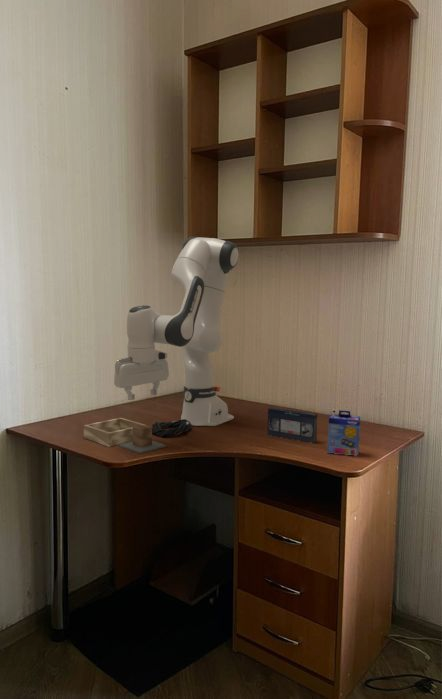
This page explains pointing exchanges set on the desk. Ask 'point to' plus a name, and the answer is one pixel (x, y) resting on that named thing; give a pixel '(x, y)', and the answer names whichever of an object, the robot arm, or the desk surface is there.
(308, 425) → the vhs cassette tape
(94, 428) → the crate
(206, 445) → the desk surface
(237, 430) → the desk surface
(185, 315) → the robot arm
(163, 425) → the cable
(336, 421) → the ink cartridge box
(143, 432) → the block
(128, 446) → the pad
